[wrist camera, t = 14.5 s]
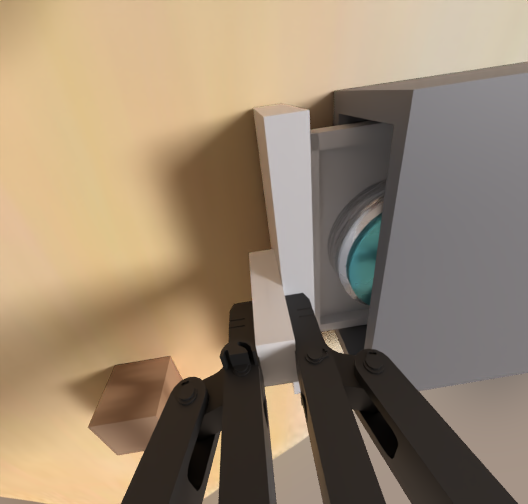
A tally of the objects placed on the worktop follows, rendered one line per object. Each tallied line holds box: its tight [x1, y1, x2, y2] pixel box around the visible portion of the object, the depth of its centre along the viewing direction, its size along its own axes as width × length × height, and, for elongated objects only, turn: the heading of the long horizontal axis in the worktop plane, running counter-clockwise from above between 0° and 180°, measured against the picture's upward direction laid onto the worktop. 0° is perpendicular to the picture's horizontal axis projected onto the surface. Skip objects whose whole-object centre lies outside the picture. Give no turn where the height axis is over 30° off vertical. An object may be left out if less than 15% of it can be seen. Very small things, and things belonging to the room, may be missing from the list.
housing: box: [333, 62, 528, 391], centre depth 15 cm, size 16×17×7 cm
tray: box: [253, 103, 394, 394], centre depth 15 cm, size 16×17×6 cm
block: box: [88, 356, 183, 455], centre depth 22 cm, size 5×5×5 cm
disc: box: [327, 179, 387, 306], centre depth 15 cm, size 8×8×3 cm
